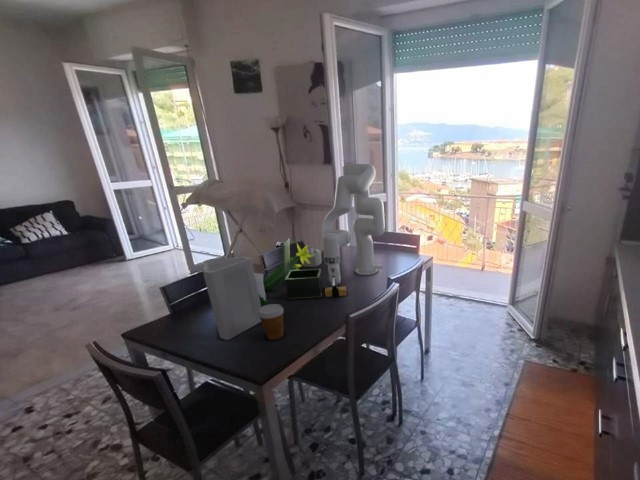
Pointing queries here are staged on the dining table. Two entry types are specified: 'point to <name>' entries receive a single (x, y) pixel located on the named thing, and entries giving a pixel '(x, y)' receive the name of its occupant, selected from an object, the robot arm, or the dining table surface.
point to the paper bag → (232, 294)
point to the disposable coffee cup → (272, 320)
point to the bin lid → (285, 255)
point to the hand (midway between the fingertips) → (336, 293)
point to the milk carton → (261, 289)
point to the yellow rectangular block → (341, 289)
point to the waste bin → (304, 284)
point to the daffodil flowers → (279, 271)
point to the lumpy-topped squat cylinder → (313, 258)
